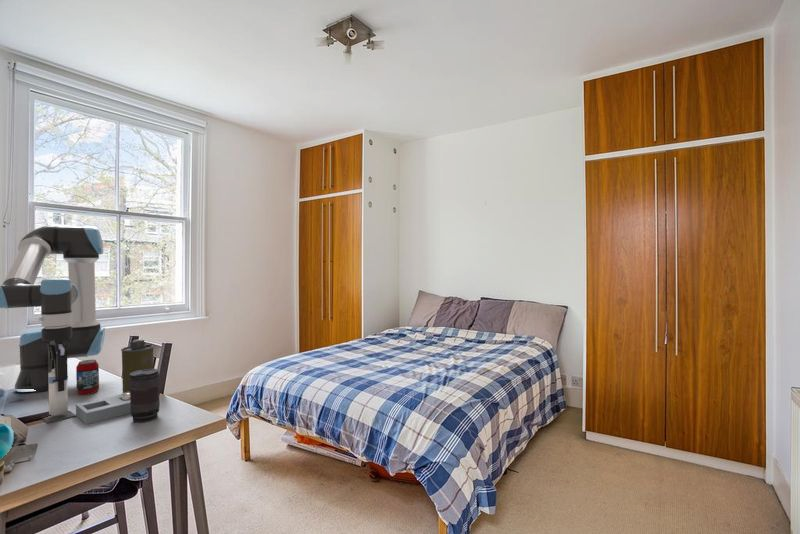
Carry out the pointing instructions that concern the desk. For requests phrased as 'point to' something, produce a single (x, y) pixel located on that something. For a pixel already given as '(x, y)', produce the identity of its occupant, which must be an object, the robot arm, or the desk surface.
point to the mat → (58, 417)
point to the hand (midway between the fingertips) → (58, 399)
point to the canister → (135, 360)
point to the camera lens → (144, 394)
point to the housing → (102, 409)
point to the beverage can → (87, 377)
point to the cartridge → (54, 406)
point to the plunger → (126, 396)
